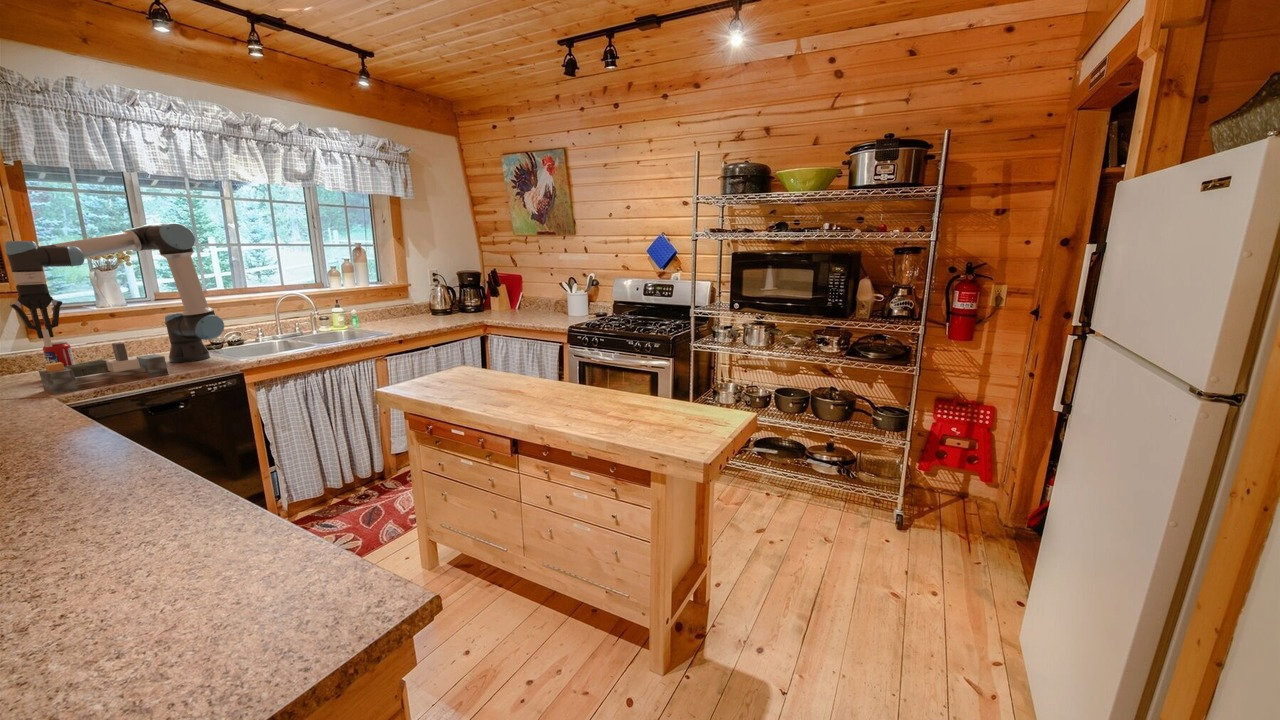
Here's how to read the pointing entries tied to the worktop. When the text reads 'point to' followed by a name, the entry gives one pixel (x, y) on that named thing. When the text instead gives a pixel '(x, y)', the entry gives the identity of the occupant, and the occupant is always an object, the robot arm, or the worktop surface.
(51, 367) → the plunger
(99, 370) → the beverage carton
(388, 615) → the worktop surface
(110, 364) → the carriage
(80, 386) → the rail stand
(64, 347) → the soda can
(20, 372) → the worktop surface
